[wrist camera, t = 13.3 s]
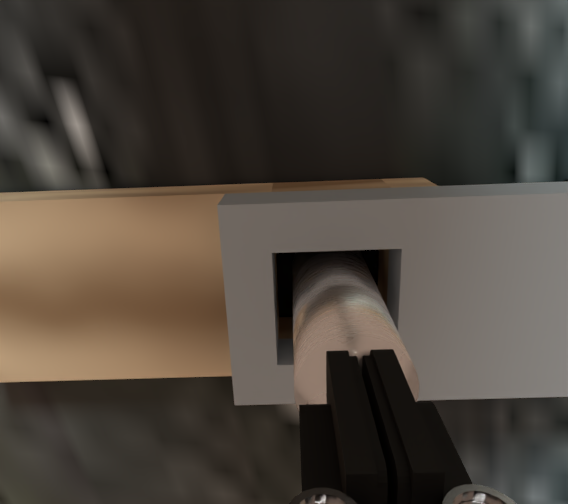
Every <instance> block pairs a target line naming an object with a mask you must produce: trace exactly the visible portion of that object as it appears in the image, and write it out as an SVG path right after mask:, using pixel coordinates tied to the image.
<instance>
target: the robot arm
mask: <svg viewBox="0 0 568 504" xmlns="http://www.w3.org/2000/svg"><path fill="white" fill-rule="evenodd" d="M326 399H327V404H305V405H299V416H300V447H301V476H302V493H300V494H299V495H297V496H296V497H294V498H293V500H292V501H291V502H290V503H289V504H516V503H515V502H514V501H513V500H512V499H510V498H509V497H507V496H506V495H504V494H503V493H501V492H499V491H497V490H494V489H492V488H490V487H486V486H481V485H477V484H472V482H471V480H470V478H469V476H468V474H467V472H466V469H465V467H464V465H463V463H462V461H461V459H460V457H459V455H458V453H457V451H456V449H455V447H454V444H453V442H452V440H451V438H450V436H449V434H448V432H447V430H446V428H445V426H444V424H443V422H442V419H441V417H440V415H439V413H438V411H437V409H436V407H435V405H434V404H433V403H432V402H431V401H420V402H416V401H415V399H414V397H413V394H412V392H411V389H410V387H409V385H408V382H407V380H406V378H405V375H404V373H403V371H402V368H401V366H400V363H399V361H398V359H397V356H396V354H395V352H394V350H393V349H378V350H371V351H370V355H369V356H363V358H362V373H361V369H360V366H359V362H358V358H357V356H349V352H348V350H342V351H326Z"/></svg>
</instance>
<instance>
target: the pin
mask: <svg viewBox="0 0 568 504" xmlns="http://www.w3.org/2000/svg"><path fill="white" fill-rule="evenodd" d="M292 293H293V356H294V397H295V403H296V406H297V409H298V411H299V405H305V404H327V399H326V351H342V350H348V352H349V356H357V358H358V362H359V366H360V369H361V373H362V358H363V356H369V355H370V351H371V350H378V349H393V350H394V352H395V354H396V356H397V359H398V361H399V363H400V366H401V368H402V371H403V373H404V375H405V378H406V380H407V382H408V385H409V387H410V389H411V392H412V394H413V397H414V399H415V401H416V402H417V400H418V396H419V379H418V375H417V372H416V369H415V367H414V365H413V362H412V360H411V358H410V356H409V354H408V352H407V350H406V348H405V345H404V343H403V341H402V339H401V337H400V335H399V333H398V330H397V328H396V326H395V324H394V322H393V320H392V318H391V315H390V313H389V311H388V309H387V307H386V305H385V303H384V301H383V298H382V296H381V294H380V292H379V290H378V288H377V286H376V283H375V281H374V279H373V277H372V275H371V273H370V271H369V269H368V266H367V264H366V262H365V260H364V258H363V256H362V254H361V252H360V250H348V251H318V252H296V254H295V256H294V259H293V263H292Z"/></svg>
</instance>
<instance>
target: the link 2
mask: <svg viewBox="0 0 568 504" xmlns="http://www.w3.org/2000/svg"><path fill="white" fill-rule="evenodd" d="M217 209H218V220H219V232H220V243H221V255H222V266H223V278H224V289H225V301H226V312H227V324H228V336H229V347H230V359H231V370H232V382H233V393H234V405H268V404H296V403H295V397H294V356H293V339H278V321H277V300H276V279H275V257H274V253H287V252H318V251H348V250H378V249H389V262H388V288H387V309H388V311H389V313H390V315H391V318H392V320H393V322H394V324H395V326H396V328H397V330H398V333H399V335H400V337H401V339H402V341H403V343H404V345H405V348H406V350H407V352H408V354H409V356H410V358H411V360H412V362H413V365H414V367H415V369H416V372H417V375H418V379H419V396H418V400H417V401H421V400H460V399H498V398H537V397H568V181H565V182H537V183H509V184H482V185H454V186H426V187H398V188H370V189H342V190H314V191H286V192H258V193H230V194H225V195H224V196H223V198H222V199H221V201H220V202H219V203H218V205H217Z"/></svg>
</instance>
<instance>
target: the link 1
mask: <svg viewBox="0 0 568 504" xmlns="http://www.w3.org/2000/svg"><path fill="white" fill-rule="evenodd" d="M426 186H437V185H436V184H434V183H432V182H430V181H429V180H427V179H425V178H423V177H420V178H393V179H365V180H338V181H310V182H282V183H255V184H227V185H200V186H172V187H144V188H117V189H89V190H62V191H34V192H6V193H0V382H32V381H69V380H105V379H142V378H178V377H215V376H232V370H231V359H230V347H229V336H228V324H227V312H226V301H225V289H224V278H223V266H222V255H221V243H220V232H219V220H218V209H217V205H218V203H219V202H220V201H221V199H222V198H223V196H224V195H225V194H230V193H258V192H286V191H314V190H342V189H370V188H398V187H426ZM274 257H275V279H276V300H277V321H278V339H293V317H279V301H278V279H277V257H276V253H274ZM388 262H389V249H379V258H378V290H379V292H380V294H381V296H382V298H383V301H384V303H385V305H386V307H387V288H388Z"/></svg>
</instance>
